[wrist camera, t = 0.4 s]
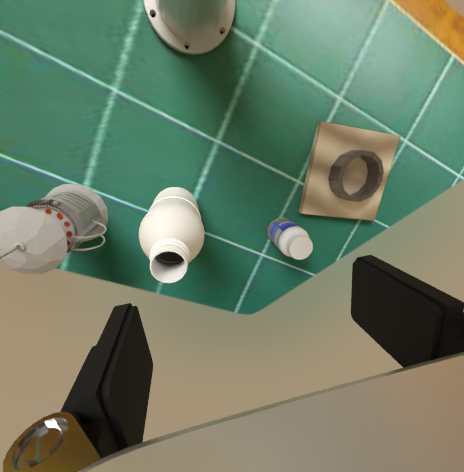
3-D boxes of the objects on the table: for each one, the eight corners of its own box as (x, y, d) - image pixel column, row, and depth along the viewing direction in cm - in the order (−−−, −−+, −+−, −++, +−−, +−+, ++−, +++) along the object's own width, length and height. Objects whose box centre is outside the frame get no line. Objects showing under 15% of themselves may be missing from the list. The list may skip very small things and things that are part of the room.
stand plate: (317, 122, 44) (321, 121, 42) (393, 136, 47) (400, 136, 46) (298, 211, 48) (301, 213, 47) (369, 218, 52) (374, 220, 50)
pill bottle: (296, 219, 49) (322, 234, 40) (288, 245, 50) (312, 265, 41) (270, 215, 47) (291, 229, 38) (263, 241, 49) (282, 261, 40)
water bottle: (203, 216, 45) (224, 285, 22) (165, 231, 45) (147, 317, 21) (187, 178, 42) (192, 210, 19) (147, 194, 42) (103, 245, 19)
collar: (335, 147, 44) (346, 147, 41) (377, 154, 46) (389, 154, 43) (324, 196, 46) (333, 198, 44) (363, 200, 48) (374, 203, 46)
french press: (43, 177, 38) (-172, 215, 15) (123, 193, 41) (46, 246, 18) (41, 236, 41) (-145, 347, 18) (116, 248, 44) (41, 355, 21)
